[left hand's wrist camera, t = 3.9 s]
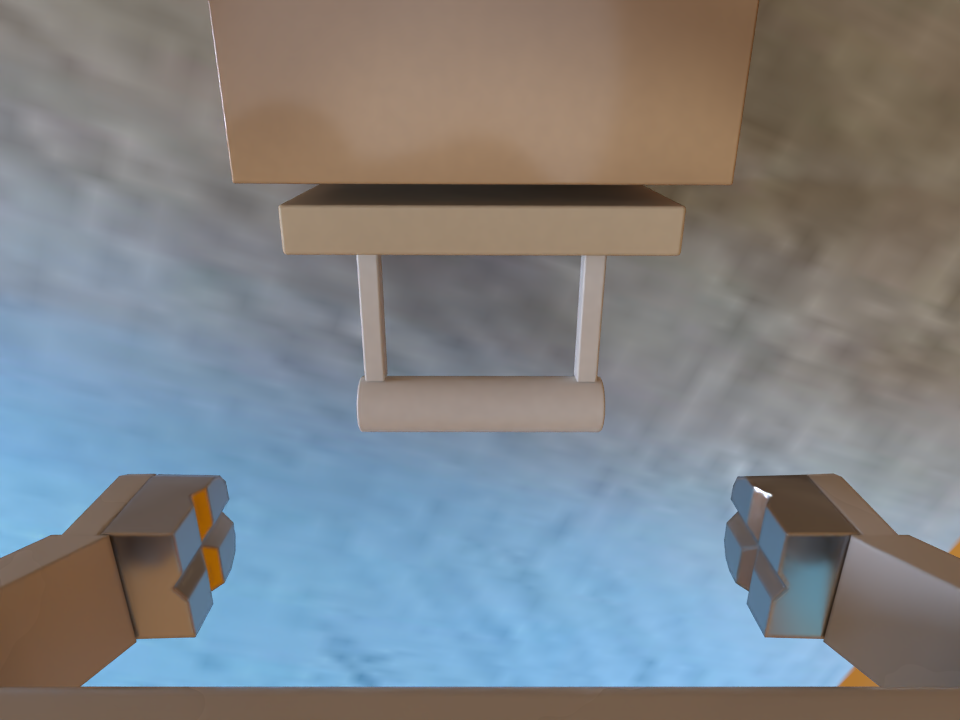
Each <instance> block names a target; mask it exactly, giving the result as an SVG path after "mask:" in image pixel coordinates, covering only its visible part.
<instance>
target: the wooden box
mask: <svg viewBox="0 0 960 720" xmlns="http://www.w3.org/2000/svg"><path fill="white" fill-rule="evenodd" d="M208 5H209V12H210V19H211V27H212V34H213V41H214V49H215V56H216V64H217V71H218V78H219V86H220V93H221V100H222V108H223V115H224V122H225V130H226V137H227V145H228V152H229V159H230V167H231V174H232V181H233V183H247V184H537V185H731V184H732V183H733V177H734V170H735V163H736V156H737V149H738V142H739V136H740V129H741V122H742V115H743V108H744V101H745V95H746V88H747V81H748V74H749V67H750V60H751V54H752V47H753V40H754V33H755V26H756V19H757V13H758V6H759V0H208Z"/></svg>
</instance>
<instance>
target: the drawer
mask: <svg viewBox="0 0 960 720" xmlns="http://www.w3.org/2000/svg"><path fill="white" fill-rule="evenodd" d="M278 210H279V219H280V228H281V237H282V246H283V252H284V254H287V255H356V256H357V270H358V285H359V299H360V314H361V328H362V343H363V358H364V372H365V376H363V377H361V379H360V381H359V385H358V391H357V420H358V426H359V429H360V431H362V432H600V431H601V430H602V427H603V424H604V417H605V394H604V387H603V383H602V380H601V378H600V377H598V376H597V371H598V358H599V346H600V333H601V320H602V307H603V295H604V282H605V269H606V256H677V255H680V252H681V245H682V237H683V229H684V221H685V213H686V208H685V207H684V206H682V205H680V204H678V203H676V202H674V201H672V200H670V199H668V198H666V197H664V196H662V195H660V194H658V193H656V192H654V191H652V190H650V189H649V188H647V187H645V186H643V185H537V184H319V185H317V186H315V187H314V188H312V189H310V190H308V191H306V192H304V193H302V194H300V195H298V196H296V197H295V198H293V199H291V200H289V201H287V202H285V203H283V204H281V205H279V208H278ZM381 255H582V257H581V273H580V289H579V304H578V320H577V336H576V351H575V367H574V375H575V376H387V356H386V337H385V319H384V300H383V282H382V263H381Z"/></svg>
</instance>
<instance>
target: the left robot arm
mask: <svg viewBox="0 0 960 720" xmlns="http://www.w3.org/2000/svg"><path fill="white" fill-rule="evenodd" d="M228 500H229V496H228V491H227V486H226V482H225V480H224V479H223V478H222V477H221V476H220V475H170V474H158V475H156V474H127V475H122V476H119V477H118V478H117V479H116V480H115V481H114V482H113V483H112V484H111V485H110V486H109V487H108V488H107V489H106V490H105V491H104V492H103V493H102V494H101V495H100V496H99V497H98V498H97V499H96V500H95V502H94V503H93V504H92V505H91V506H90V507H89V508H88V509H87V510H86V511H85V512H84V513H83V514H82V515H81V516H80V517H79V518H78V519H77V520H76V521H75V522H74V523H73V524H72V525H71V526H70V527H69V528H68V529H67V530H66V531H65V532H64V533H63V534H62V535H50V536H48V537H46V538H44V539H41V540H39V541H37V542H35V543H33V544H30V545H28V546H26V547H24V548H22V549H19V550H17V551H15V552H13V553H11V554H8V555H6V556H4V557H2V558H0V720H960V558H958V557H956V556H954V555H951V554H949V553H947V552H945V551H943V550H940V549H938V548H936V547H934V546H932V545H930V544H927V543H925V542H923V541H921V540H919V539H916V538H914V537H912V536H910V535H898V534H897V533H896V532H895V531H894V530H893V529H892V528H891V527H890V526H889V525H888V524H887V523H886V522H885V521H884V520H883V519H882V518H881V517H880V516H879V515H878V514H877V513H876V512H875V511H874V510H873V509H872V508H871V507H870V505H869V504H868V503H867V502H866V501H865V500H864V499H863V498H862V497H861V496H860V495H859V494H858V493H857V492H856V491H855V490H854V489H853V488H852V487H851V486H850V485H849V484H848V483H847V482H846V481H845V480H844V479H843V478H842V477H841V476H838V475H836V474H809V475H779V476H741V477H737V479H736V481H735V483H734V485H733V490H732V495H731V500H732V502H733V504H734V505H735V507H736V509H737V510H738V512H737V513H736V514H735V515H734V516H733V517H732V518H731V519H730V520H729V521H728V522H727V524H726V531H725V539H724V544H725V556H726V561H727V564H728V568H729V571H730V573H731V575H732V577H733V579H734V581H735V583H737V584H738V585H740V586H741V587H743V588H744V589H746V590H747V591H749V594H748V599H747V605H748V607H749V609H750V611H751V613H752V615H753V616H754V618H755V620H756V622H757V624H758V626H759V627H760V629H761V631H762V633H763V635H764V637H774V638H811V639H824V641H823V642H825V643H826V644H827V645H828V646H830V647H831V648H832V649H833V650H835V651H836V652H837V653H838V654H840V655H841V656H842V657H843V658H845V659H846V660H847V661H848V662H850V663H851V664H852V665H853V666H855V667H856V668H857V669H858V670H860V671H861V672H862V673H864V674H865V675H866V676H867V677H869V678H870V679H871V680H872V681H874V682H875V683H876V684H877V685H879V686H880V687H80V686H82V685H83V684H84V683H85V682H87V681H88V680H89V679H90V678H92V677H93V676H94V675H95V674H97V673H98V672H99V671H100V670H102V669H103V668H104V667H106V666H107V665H108V664H109V663H111V662H112V661H113V660H114V659H116V658H117V657H118V656H119V655H121V654H122V653H123V652H124V651H126V650H127V649H128V648H129V647H131V646H132V645H133V644H134V643H136V639H149V638H184V637H196V635H197V633H198V631H199V629H200V628H201V626H202V624H203V622H204V620H205V618H206V616H207V615H208V613H209V611H210V609H211V607H212V605H213V599H212V594H211V591H213V590H214V589H216V588H217V587H219V586H220V585H222V584H223V583H225V581H226V579H227V577H228V575H229V573H230V571H231V568H232V564H233V559H234V555H235V530H234V524H233V522H232V521H231V520H230V519H229V518H228V517H227V516H226V515H225V514H224V513H223V512H222V510H223V509H224V507H225V505H226V504H227V502H228Z"/></svg>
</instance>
